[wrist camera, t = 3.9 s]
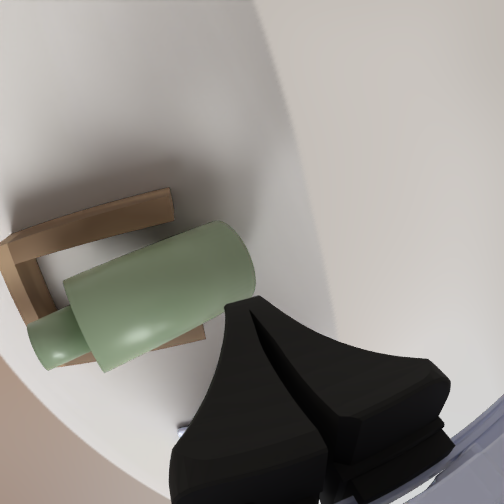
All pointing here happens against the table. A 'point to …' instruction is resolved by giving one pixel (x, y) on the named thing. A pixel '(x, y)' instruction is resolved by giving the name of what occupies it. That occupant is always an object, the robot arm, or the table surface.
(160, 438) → the table surface
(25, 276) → the u rest
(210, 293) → the bottle
